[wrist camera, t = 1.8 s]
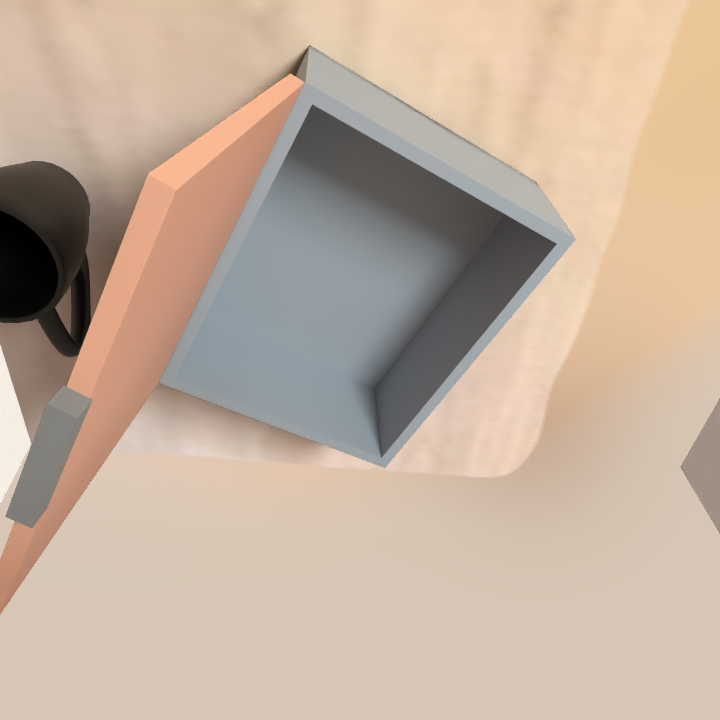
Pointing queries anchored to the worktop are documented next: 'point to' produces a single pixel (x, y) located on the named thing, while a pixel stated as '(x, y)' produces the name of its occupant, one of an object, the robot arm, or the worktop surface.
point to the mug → (44, 250)
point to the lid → (140, 317)
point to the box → (363, 270)
